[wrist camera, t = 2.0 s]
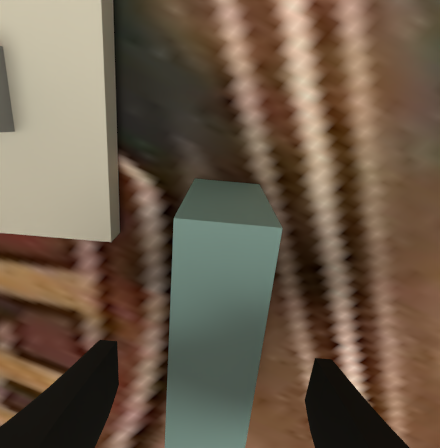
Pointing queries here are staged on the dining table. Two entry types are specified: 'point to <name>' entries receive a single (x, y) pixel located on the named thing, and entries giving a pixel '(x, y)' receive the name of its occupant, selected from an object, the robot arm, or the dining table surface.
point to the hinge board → (58, 119)
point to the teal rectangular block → (218, 311)
